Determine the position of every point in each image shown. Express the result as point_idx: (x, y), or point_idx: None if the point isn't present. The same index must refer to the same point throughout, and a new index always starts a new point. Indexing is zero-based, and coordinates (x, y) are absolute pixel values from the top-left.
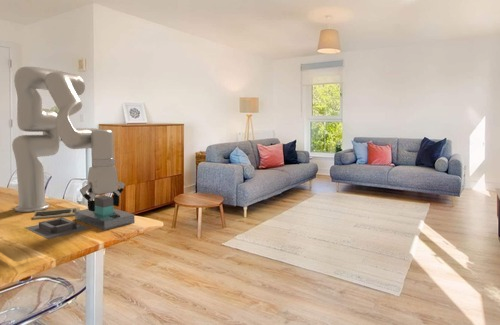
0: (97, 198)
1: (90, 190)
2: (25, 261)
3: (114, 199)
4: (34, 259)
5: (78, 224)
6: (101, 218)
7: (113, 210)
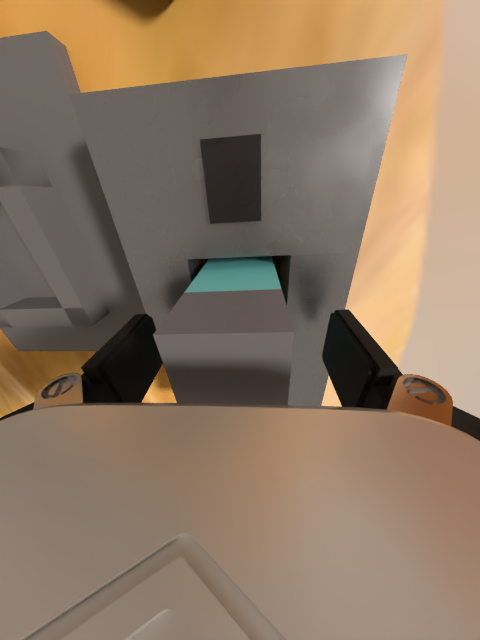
0: (173, 383)
1: (11, 438)
2: (4, 406)
3: (345, 367)
4: (20, 408)
5: (122, 266)
6: None
7: (312, 308)
